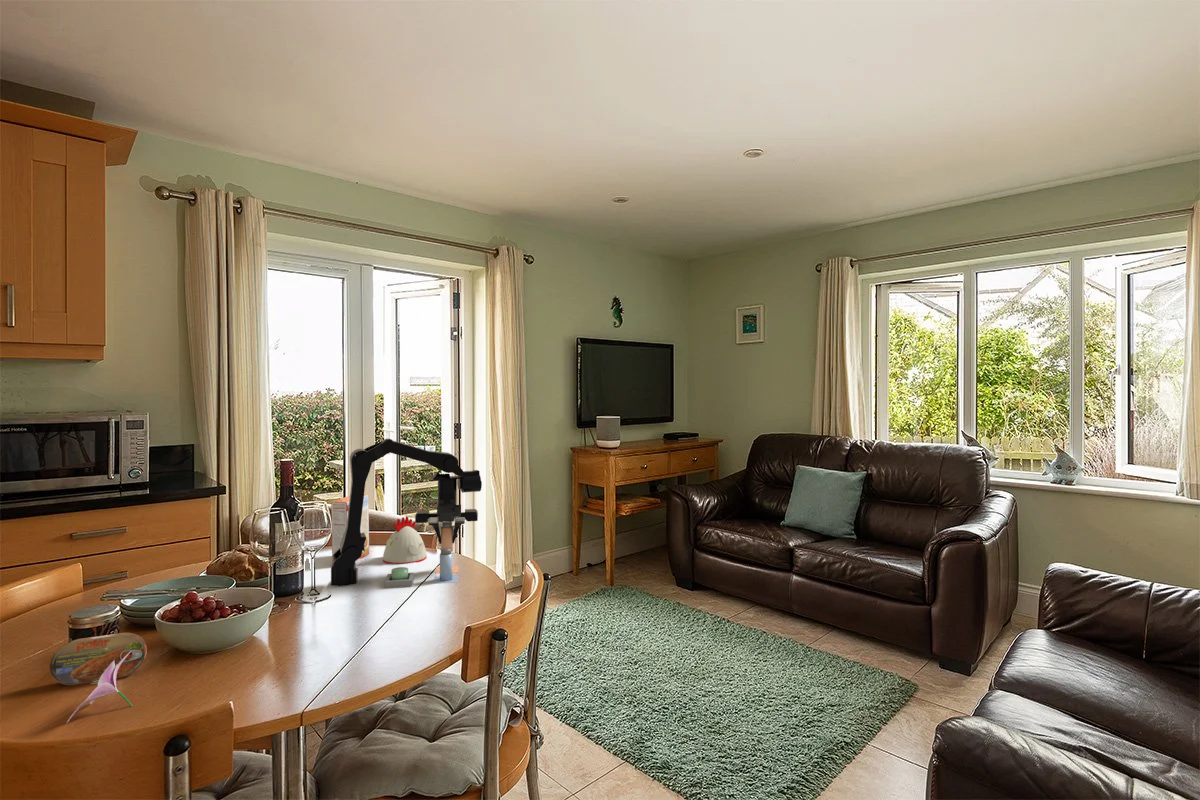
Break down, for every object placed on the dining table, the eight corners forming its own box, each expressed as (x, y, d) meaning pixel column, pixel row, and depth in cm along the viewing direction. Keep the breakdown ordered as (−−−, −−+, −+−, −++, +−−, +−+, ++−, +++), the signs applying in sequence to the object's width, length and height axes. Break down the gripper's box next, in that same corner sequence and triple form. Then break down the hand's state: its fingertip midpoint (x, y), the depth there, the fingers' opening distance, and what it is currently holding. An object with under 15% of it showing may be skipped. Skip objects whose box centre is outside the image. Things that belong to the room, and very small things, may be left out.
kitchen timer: (374, 563, 202) (374, 517, 201) (408, 553, 213) (408, 511, 213) (400, 570, 194) (401, 523, 193) (435, 560, 205) (435, 516, 205)
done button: (390, 582, 174) (390, 572, 174) (392, 577, 179) (392, 567, 179) (407, 581, 175) (407, 571, 175) (408, 576, 180) (408, 566, 180)
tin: (48, 689, 117) (48, 645, 116) (55, 681, 119) (55, 639, 119) (144, 675, 123) (144, 633, 122) (148, 668, 125) (148, 627, 125)
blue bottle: (439, 581, 179) (439, 551, 179) (440, 577, 182) (439, 547, 182) (452, 580, 180) (452, 550, 179) (452, 577, 183) (452, 547, 183)
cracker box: (353, 553, 213) (353, 493, 212) (369, 554, 212) (369, 494, 211) (330, 565, 199) (330, 500, 198) (347, 565, 198) (347, 501, 197)
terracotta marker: (440, 553, 188) (440, 523, 188) (441, 550, 192) (441, 521, 192) (452, 552, 189) (452, 523, 189) (452, 549, 193) (453, 521, 193)
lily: (130, 692, 118) (99, 654, 115) (174, 676, 115) (142, 636, 112) (71, 745, 106) (35, 704, 104) (118, 729, 103) (82, 686, 101)
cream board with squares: (383, 592, 173) (383, 581, 173) (391, 572, 191) (391, 562, 191) (463, 587, 177) (463, 577, 177) (463, 568, 196) (463, 559, 196)
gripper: (413, 498, 180) (413, 551, 181) (478, 497, 184) (477, 548, 185) (416, 492, 191) (416, 542, 191) (477, 491, 195) (477, 539, 195)
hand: (446, 543), depth 190 cm, fingers closed on terracotta marker, 4 cm apart
